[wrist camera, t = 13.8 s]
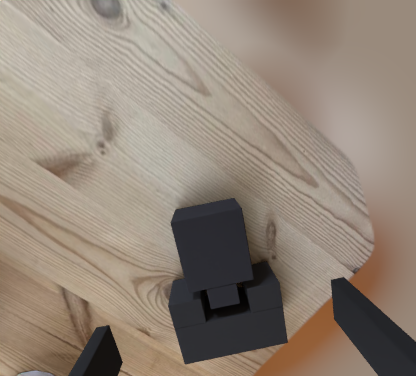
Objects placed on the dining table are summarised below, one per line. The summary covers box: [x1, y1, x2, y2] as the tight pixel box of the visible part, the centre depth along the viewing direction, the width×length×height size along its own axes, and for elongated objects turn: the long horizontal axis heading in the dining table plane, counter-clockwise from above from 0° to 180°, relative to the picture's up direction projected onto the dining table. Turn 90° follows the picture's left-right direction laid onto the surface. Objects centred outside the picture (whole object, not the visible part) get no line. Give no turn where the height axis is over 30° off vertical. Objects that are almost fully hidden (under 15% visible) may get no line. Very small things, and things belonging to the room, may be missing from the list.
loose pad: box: [171, 198, 254, 309], centre depth 22 cm, size 7×10×4 cm, turn 11°
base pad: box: [168, 261, 288, 364], centre depth 23 cm, size 12×8×4 cm, turn 101°
